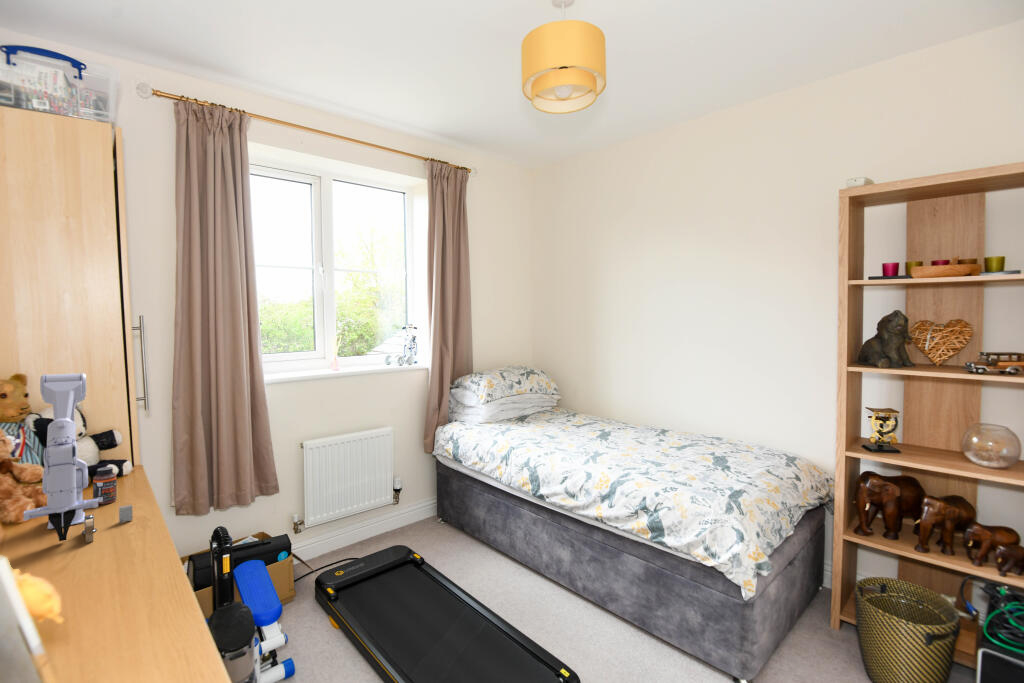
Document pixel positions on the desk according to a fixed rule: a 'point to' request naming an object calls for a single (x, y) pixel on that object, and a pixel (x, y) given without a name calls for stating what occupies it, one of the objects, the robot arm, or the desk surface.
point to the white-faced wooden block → (125, 513)
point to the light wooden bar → (89, 530)
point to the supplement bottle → (105, 485)
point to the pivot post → (85, 523)
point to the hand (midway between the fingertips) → (62, 539)
